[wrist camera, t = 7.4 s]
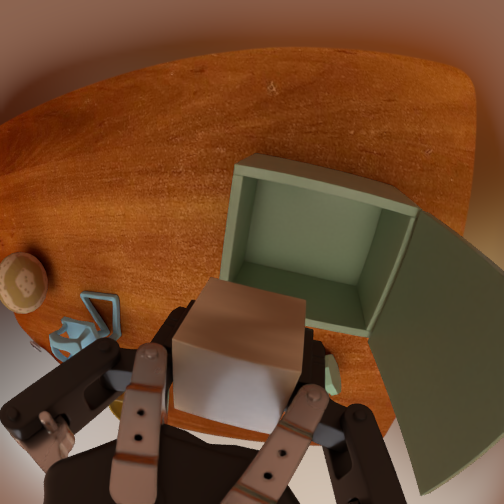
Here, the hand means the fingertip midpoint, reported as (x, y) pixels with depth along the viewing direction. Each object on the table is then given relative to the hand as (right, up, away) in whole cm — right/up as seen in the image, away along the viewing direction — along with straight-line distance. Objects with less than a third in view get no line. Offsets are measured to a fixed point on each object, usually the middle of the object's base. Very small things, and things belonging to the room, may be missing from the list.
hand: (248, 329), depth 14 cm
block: (0, 0, 0) cm, 0 cm away
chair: (-23, -6, +29) cm, 37 cm away
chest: (+7, +7, +17) cm, 19 cm away
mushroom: (-40, +1, +29) cm, 49 cm away
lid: (+11, -2, +1) cm, 12 cm away
